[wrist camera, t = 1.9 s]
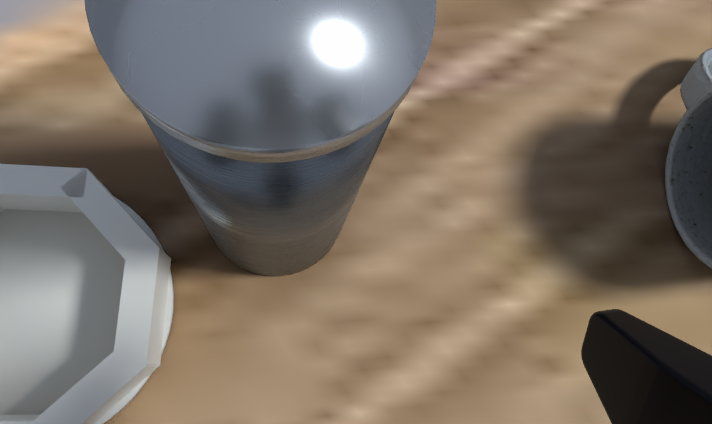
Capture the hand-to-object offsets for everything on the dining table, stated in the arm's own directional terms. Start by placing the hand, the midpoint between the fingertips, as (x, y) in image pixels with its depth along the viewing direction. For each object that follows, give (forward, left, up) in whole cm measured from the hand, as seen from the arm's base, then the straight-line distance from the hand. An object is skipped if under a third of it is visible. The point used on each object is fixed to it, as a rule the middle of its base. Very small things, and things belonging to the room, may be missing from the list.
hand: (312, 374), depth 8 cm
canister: (+6, +1, -12) cm, 13 cm away
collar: (+2, +9, -12) cm, 15 cm away
